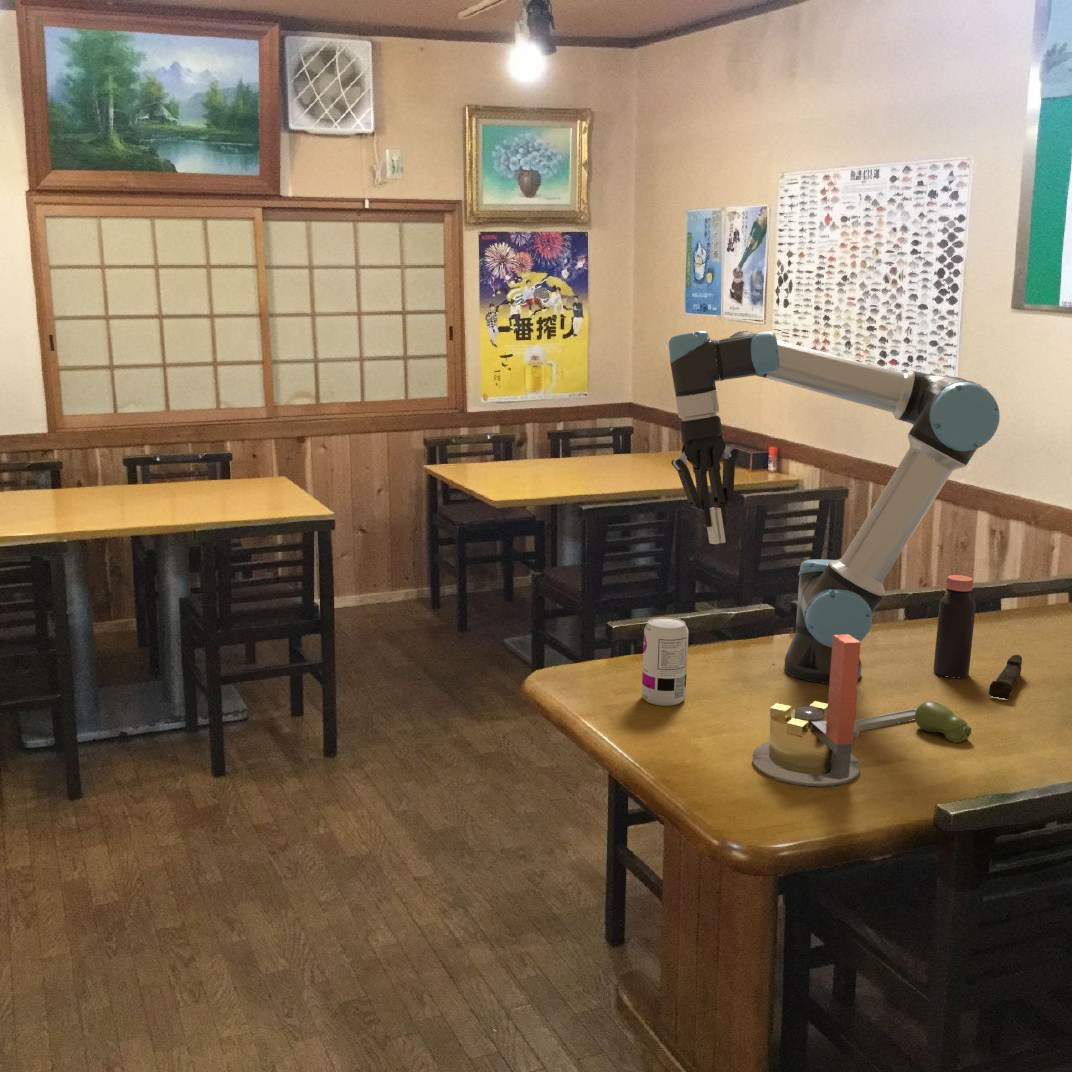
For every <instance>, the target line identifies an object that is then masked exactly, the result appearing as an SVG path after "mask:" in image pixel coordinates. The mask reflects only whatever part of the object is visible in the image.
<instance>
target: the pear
mask: <svg viewBox="0 0 1072 1072" xmlns="http://www.w3.org/2000/svg"><path fill="white" fill-rule="evenodd" d="M916 708H917V710H916V713H915V720H914V721H915V722H916V725H917V726H918V728H920V729H921V730H922V731H924V732H929V733H941V734H943V735H944V737H945V739H947V741H949V742H951V743H955V744H959V743H962V742H961V741H963V740H965V741H967V740H968V739H969V737H970V736H971V734H972V727H971V726H969V725H968V723H967V721H966V720H965V719H964V718H961V717H960V716H958V715H956V714H955V713H954V712H953V711H952V709H949V708H948V707H947V706H945V705H944V704H941V703H940V702H936V701H932V700H931V701H930V700H929V701H924V702H922V703H921V704H919V706H918V707H916ZM966 739H967V740H966ZM958 742H959V743H958ZM963 742H964V741H963Z"/></svg>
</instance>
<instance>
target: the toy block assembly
mask: <svg viewBox="0 0 1072 1072" xmlns="http://www.w3.org/2000/svg"><path fill="white" fill-rule="evenodd" d="M861 642H862V641H861ZM861 642H859V641H858V640H856V639H855V638H853V637H852V636H850V635H849V634H845V635H833V643H832V657H831V670H830V683H828V685H829V686H828V699H827V703H825V702H820V701H816V700H814V701H813V702H811V704H810V705H809V706H808V707H813V708H817V709H819V710H821V711H822V712H823V721H815V722H811V726H808V724H809V722H808V721H804V720H800V719H795V709H792V706H790V705H786V704H782V703H777V702H776V703H775V704H773V705H772V706H770V708H769V718H770V719H769V720H770V723H769V736H768V737H769V738H768V742H769V751H768V755H769V758H770V759H771V760H772V761H773V762H774V763H776V764H778V765H780V766H782V767H785V768H788V769H791V770H795V771H801V772H810V773H822V772H829V771H831V760H832V751H833V752H834V753H835V754H836V755H840V754H852V753H853V751H852V750H853V741H854V738H853V731H854V720H856V716H855V715H856V705H857V703H856V702H857V690H858V680H859V679H858V669H859V656H860V653H861ZM860 657H861V656H860Z"/></svg>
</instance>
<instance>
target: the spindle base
mask: <svg viewBox="0 0 1072 1072" xmlns="http://www.w3.org/2000/svg"><path fill="white" fill-rule="evenodd" d="M794 710H795V719H800V720H804V721H808V722H809V724H808V726H811V722H815V721H823V712H822V711H821V710H819V709H817V708H813V707H809V706H799V707H796V708H795V709H794ZM768 751H769V741H768V742H764V743H762V744H760V745H757V747H756V748H754V750H753V752H752V761H751V762H752V764H754V765H753V767H754V768H755V769H756V768H757V769H758V770H759V772H760V771H761V772H762V773H761V772H760V773H761V774H763V775H764V774H766V775H768V776H769V777H768V776H767V777H768V778H770V777H772V778H771V779H773V778H774V779H773V780H775V779H778V780H780V781H779V782H781V781H782V783H785V782H786V783H785V784H789V785H794V784H798V785H797V786H799V785H806V786H805V787H808V786H817V787H816V788H822V787H821V786H831V787H836V786H835V785H838V786H841V785H840V784H843V785H845V784H848V783H850V781H851V782H852V780H853V779H854V780H855V779H857V778H858V776H859V775H860V766H861V765H860V761H859V760H858V759H857V757H856V756H855V755H854V754H853V753H851V754H840V755H836V754H835V753H834V752H833V751H832V760H831V771H829V772H822V773H810V772H801V771H795V770H791V769H788V768H785V767H782V766H780V765H778V764H776V763H774V762H773V761H772V760H771V759H770V758H769V755H768ZM757 769H756V770H757ZM758 770H757V771H758ZM858 774H859V775H858ZM766 775H765V776H766ZM778 780H777V781H778ZM854 780H853V781H854ZM819 786H820V787H819Z"/></svg>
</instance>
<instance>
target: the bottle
mask: <svg viewBox="0 0 1072 1072" xmlns="http://www.w3.org/2000/svg"><path fill="white" fill-rule="evenodd" d="M973 584H974V578H973V577H970V576H968V575H961V574H951V575H948V576H947V577H946V586H945V587H946V591H947V594H945V596H943V597H942V598H941V599H940V601H939V609H938V617H937V618H938V619H937V626H936V627H937V629H936V638H935V650H934V651H935V652H934V660H933V661H934V662H933V671H934V672H933V673H935V674H936V673H937V674H936V675H938V676H940V675H941V676H940V677H943V676H948V677H955V678H954V679H963V678H962V677H965V678H966V676H967V677H968V676H969V674H970V667H971V666H970V665H971V655H972V649H973V648H972V645H973V639H974V637H973V636H974V625H975V615H976V607H977V606H976V603H975V601H974V600H973V598H972V597H971V593H972V592H973V587H974V585H973ZM948 677H947V678H948ZM958 677H960V678H958Z"/></svg>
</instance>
